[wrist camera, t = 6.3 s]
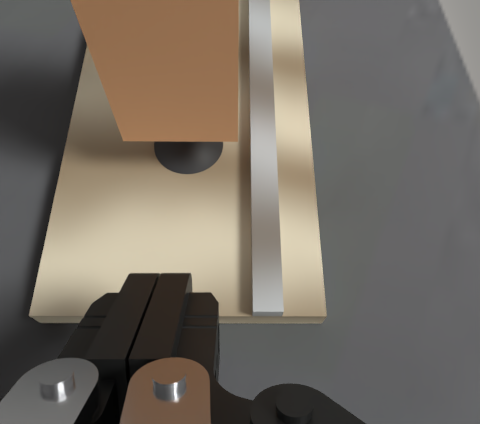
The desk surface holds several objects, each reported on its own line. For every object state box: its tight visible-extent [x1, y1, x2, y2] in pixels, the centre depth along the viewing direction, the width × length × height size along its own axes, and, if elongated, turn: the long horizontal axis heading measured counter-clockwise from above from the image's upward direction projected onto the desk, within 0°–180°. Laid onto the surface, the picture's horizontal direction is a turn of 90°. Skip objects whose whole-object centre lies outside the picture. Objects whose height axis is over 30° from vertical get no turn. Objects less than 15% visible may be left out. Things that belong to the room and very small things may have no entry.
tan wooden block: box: [71, 0, 239, 142], centre depth 14 cm, size 4×4×9 cm
